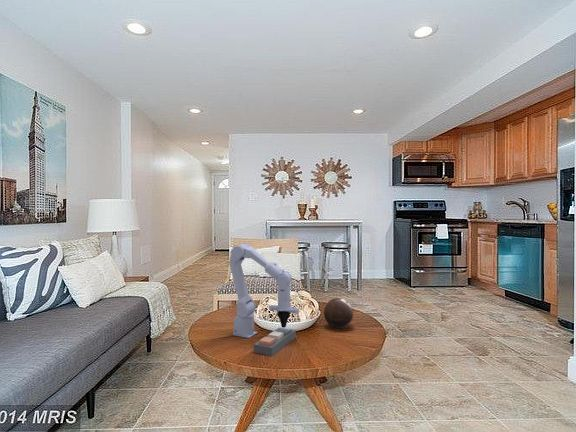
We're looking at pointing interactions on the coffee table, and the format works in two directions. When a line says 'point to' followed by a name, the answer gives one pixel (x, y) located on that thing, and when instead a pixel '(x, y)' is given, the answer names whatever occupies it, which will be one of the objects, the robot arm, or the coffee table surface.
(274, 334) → the white key
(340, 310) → the wooden sphere
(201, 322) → the coffee table surface
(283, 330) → the blue key
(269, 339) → the terracotta key
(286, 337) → the key console
